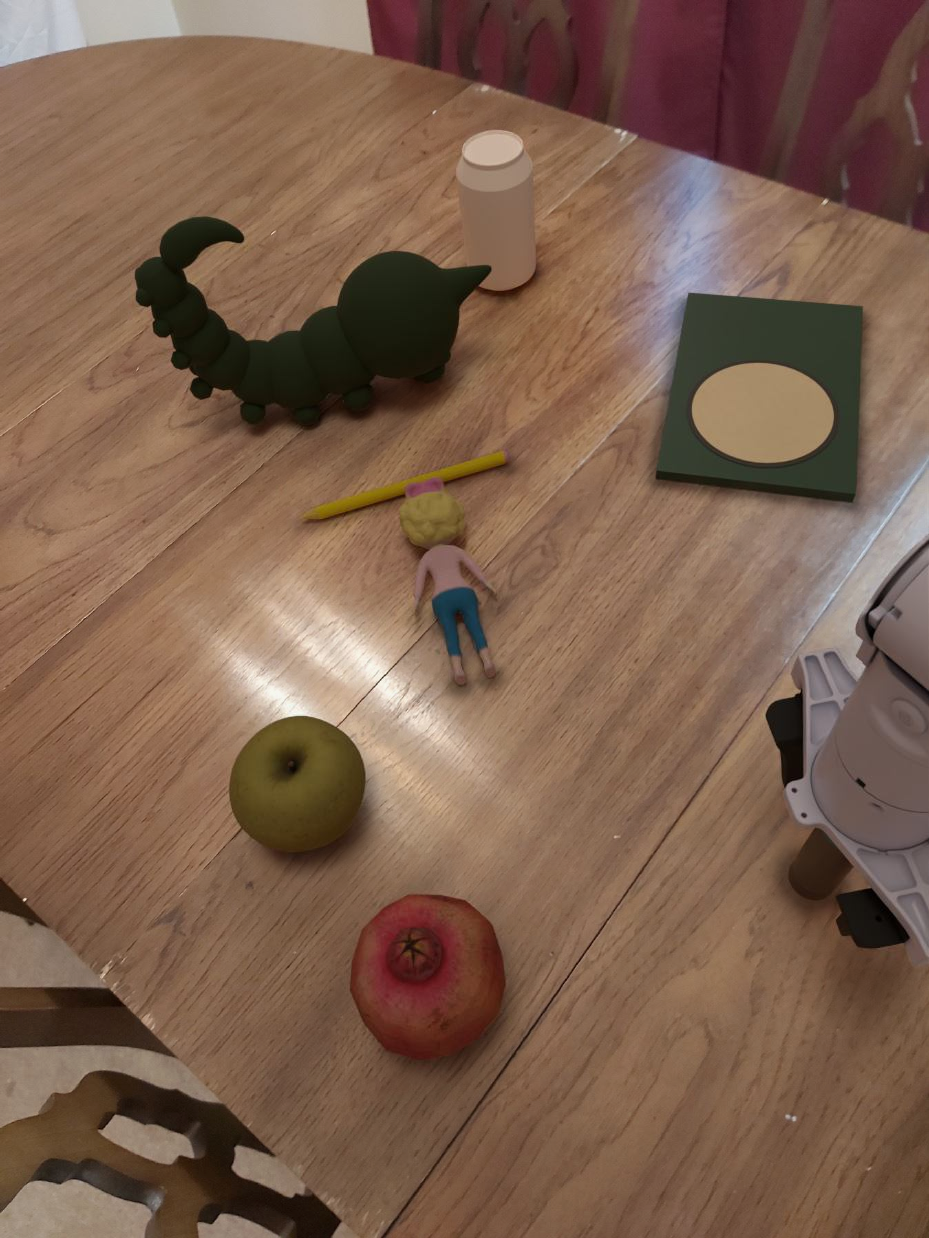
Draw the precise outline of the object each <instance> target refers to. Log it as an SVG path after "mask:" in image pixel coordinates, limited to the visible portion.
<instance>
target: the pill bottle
mask: <svg viewBox="0 0 929 1238" xmlns="http://www.w3.org/2000/svg"><path fill="white" fill-rule="evenodd" d="M853 869H855V868H854V866H853V865H852V864H851V863H850V862H849V860H848V859H847V858H846V857H845V856H844V854H843V853H842V852H841V851H840V850H839V848H838V847H837V846H836V845H835V844H834V842H833V841H832V840H831V839H830V838H829V836H828V835H827V834H826V833H825V832H824V831H823V830H821V829H819V828H812V831H811V832H810V834H809V835H808V837H807V839H806V840H805V841H804V843H803V844H802V846H801V848H800V849H799V850H798V853H797V854H796V855H795V857H794V859H793V860H792V862H791V863H790V865H789V867H788V872H787V877H788V882H789V884H790V886H791V888H792V889H793V890H794V892H795V893H796V894H797V895H799V896H800V897H802V898H804V899H806V900H808V901H815V902H818V901H823V900H826V899H827V898H829V897H831V895H832V894H833V893H834V892H835V890H836V889H837V888H838V886H840V884H841V883H843V881H844V880H845V878H846V877H847V876H848V875H849V874H850V873H851V871H852V870H853Z"/></svg>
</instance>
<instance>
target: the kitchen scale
mask: <svg viewBox="0 0 929 1238" xmlns="http://www.w3.org/2000/svg"><path fill="white" fill-rule="evenodd" d="M863 312H864V306H863V305H852V304H842V303H841V304H840V303H838V304H837V303H827V302H817V301H816V302H814V301H802V300H799V301H798V300H789V299H778V298H777V299H774V298H763V297H750V296H738V295H727V294H713V293H702V292H701V293H699V292H688V293H687V298H686V303H685V309H684V313H683V314H684V315H683V319H682V326H681V331H680V336H679V342H678V347H677V353H676V359H675V364H674V371H673V375H672V380H671V388H670V392H669V396H668V397H669V398H668V404H667V409H666V415H665V420H664V426H663V431H662V437H661V443H660V448H659V454H658V460H657V465H656V469H655V479H656V480H661V481H669V482H679V483H687V484H694V485H703V486H710V487H720V488H727V489H736V490H746V491H753V492H761V493H768V494H769V493H770V494H777V495H787V496H794V497H803V498H810V499H820V500H825V501H826V500H828V501H835V502H845V503H854V500H855V497H856V495H857V477H858V451H859V449H858V448H859V427H860V426H859V421H860V399H861V398H860V395H861V368H862V366H861V365H862V345H863V344H862V342H863V340H862V339H863V314H864V313H863Z"/></svg>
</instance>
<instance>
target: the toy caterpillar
mask: <svg viewBox="0 0 929 1238" xmlns="http://www.w3.org/2000/svg"><path fill="white" fill-rule="evenodd" d="M244 241H245V235H244V233H243V232H242V231H241V230H240V229H239V228H238V227H236V226H234V225H233V224H231V223H229V222H228V221H226V220H223V219H220V218H218V217H217V218H216V217H213V216H212V217H211V216H207V215H205V216H193V217H189V218H186V219H183V220H179V221H178V222H176V223H175V224H174V225H172V226H171V227H169V228H168V229H167V230H166V231H165V232H164V233H163V234H162V236H161V239H160V243H159V247H158V248H159V249H158V250H159V256H152V257H149V258H148V259H145V260H144V261H142V263H141V264H140V266H138V267H136V268H135V270H134V281H135V285H136V290H135V301H136V303H137V304H138V305H139V306H140V307H145V308H149V307H150V310H151V314H152V318H153V321H152V323H151V324H152V330H153V331H152V332H153V334H154V335H156V337H158V338H161V339H168V338H169V336H170V338H171V339H170V340H171V343H172V347H173V349H174V350H175V351H172V354H171V358H170V363H171V364H172V366H173V368H175V369H177V370H179V371H184V370H189V372H191V374H192V375H194V376H196V377H195V378H192V380H191V383H190V386H189V391H190V393H191V394H192V396H193V397H194V398H195V399H198V400H200V401H203V400H206V399H209V398H211V396H212V394H213V391H214V389H217V390H219V391H222V392H224V391H225V392H227V391H231V392H232V394H233V395H234V396H235V397H236V398H237V399H239V400H240V401H242V402H241V404H239V412H240V418H241V420H243V421H244V422H245V423H246V424H248V425H258V424H260V423H261V422H263V421H264V420H265V419H266V414H267V412H266V406H270V405H272V404H275V405H277V406H279V407H281V408H283V409H287V410H291V411H293V417H294V418H295V420H296V421H297V422H298V423H299V424H300V425H301V426H307V427H310V426H312V425H314V424H316V423H317V421H318V418H319V416H320V414H321V412H320V408H319V406H318V405H319V404H321V403H323V402H324V401H325V400H326V399H327V398H328V396H329V395H336V396H341V398H342V402H343V405H344V406H345V407H346V408H348V409H350V410H351V411H353V412H355V413H356V412H364V411H365V410H366V409H368V408H369V407H370V406H371V405H372V404H373V402H374V398H373V397H374V396H373V395H374V394H373V386H372V385H371V384H370V383H372V381H374V380H375V378H376V377H377V376H379V377H381V378H386V379H394V380H403V379H411V378H414V379H415V380H416V381H418V382H420V383H423V384H434V383H435V382H437V381H440V379H441V378H442V377H443V376H444V374H445V372H446V364H448V363H450V361H451V358H452V357H451V356H452V354H451V353H452V352H451V351H452V348H453V346H454V344H455V342H456V341H455V340H456V338H457V334H458V331H459V326H460V315H461V314H460V313H461V312H460V309H461V306H462V304H464V303H465V301H466V300H467V299H468V298H469V297H470V295H472V293H473V292H475V290H476V289H477V288H478V287H480V286H479V285H480V284H481V283H482V282H483V281H484V280H485V279H486V277H487V276H488V275H489V274H490V273H491V271H492V268H491V266H489V265H476V266H462V267H461V266H460V267H450V268H445V267H443V268H442V267H441V266H438V264H436V263H435V262H434V261H432V260H430V259H428V258H427V257H425V256H424V255H423V256H422V255H420V254H417V253H414V252H411V251H405V250H404V251H402V250H390V251H384V252H380V253H376V254H374V255H372V256H370V257H368V258H367V259H365V260H364V261H362V262H361V263H360V264H358V266H356V267H355V268H354V269H353V270H352V271H351V272H350V274H349V275H348V276H347V277H346V279H345V281H344V282H343V285H342V287H341V288H340V291H339V295H338V298H337V302H336V303H337V304H336V305H329V306H326V307H323V308H320V309H318V310H316V311H315V312H314V313H312V314H311V315H310V316H309V317H308V318H306V320H305V321H304V323H303V324H302V325H301V327H300V329H299V330H297V329H295V330H287V331H285V332H281V333H278V334H277V335H275V336H273V337H272V338H271V339H270V340H268V341H267V340H262V339H249V340H247V339H246V338H244V336H243V335H241V334H240V333H239V332H237V331H235V330H233V329H229V327H228V326H227V323H226V322H225V319H223V317H222V316H221V315H220V314H218V313H217V312H216V311H215V310H213V309H212V308H209V307H208V304H207V301H206V298H205V295H204V294H203V293H202V292H201V290H200V289H199V288H198V287H197V286H196V285H195V284H193V283H192V282H189V281H188V279H187V275H186V273H185V270H184V269H186V268H188V267H189V266H191V265H193V263H195V261H196V260H197V259H198V258H199V256H200V254H201V253H202V252H203V251H205V250H207V248H210V247H212V246H214V245H217V244H219V243H225V242H229V243H234V244H242V243H244Z"/></svg>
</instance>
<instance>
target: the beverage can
mask: <svg viewBox="0 0 929 1238" xmlns="http://www.w3.org/2000/svg"><path fill="white" fill-rule="evenodd" d="M524 145H525V144H524V141H523V140H522V138H521V137H520V136H519V135H518V134H516V133H515V132H511V131H508V130H504V129H492V130H491V129H490V130H485V131H482V132H478V133H476V134H473V135H472V136H471V137H469V138H468V139H467V140H466V141H464V144H463V145H462V148H461V153H462V154H461V157H460V159H459V160H458V163H457V165H456V170H455V176H456V184H457V185H456V186H457V194H458V203H459V213H460V221H461V231H462V239H463V248H464V256H465V267H467V266H476V265H489V266H491V268H492V271H491V273H490V274H489V275H488V276H487V277H486V279H485V280H484V281H483V282H482V283H481V284H480V285H479V286H478V287H480V288H482V289H484V290H489V291H495V292H504V291H505V292H506V291H510V290H512V289H513V290H514V289H515V288H518V287H520V286H522V285H523V284H526V283H527V282H528V281H529V280H530V279H531V278H532V277H533V275H534V273H535V271H536V268H537V267H536V266H537V246H536V245H537V244H536V222H535V221H536V218H535V217H536V216H535V190H534V189H535V187H534V164H533V161H532V159H531V157H530V155H529V154H528V152H527V150H526V149H525V147H524Z"/></svg>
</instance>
